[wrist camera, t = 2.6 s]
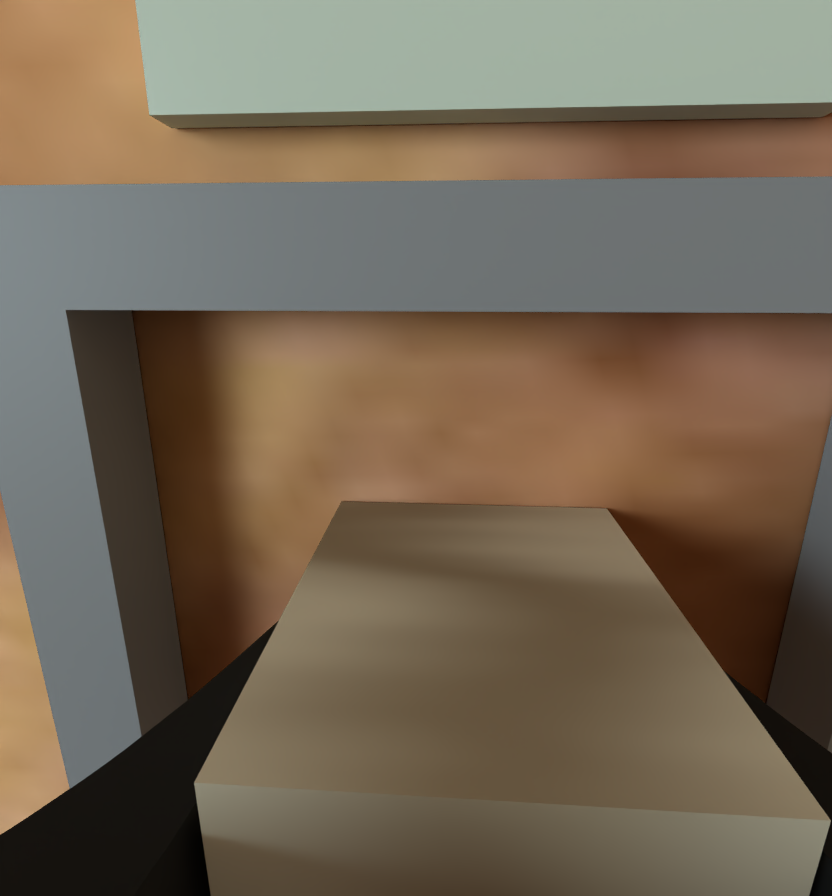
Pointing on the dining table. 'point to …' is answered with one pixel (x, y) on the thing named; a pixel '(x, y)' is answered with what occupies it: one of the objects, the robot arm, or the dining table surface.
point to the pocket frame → (330, 289)
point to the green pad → (482, 61)
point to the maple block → (495, 726)
